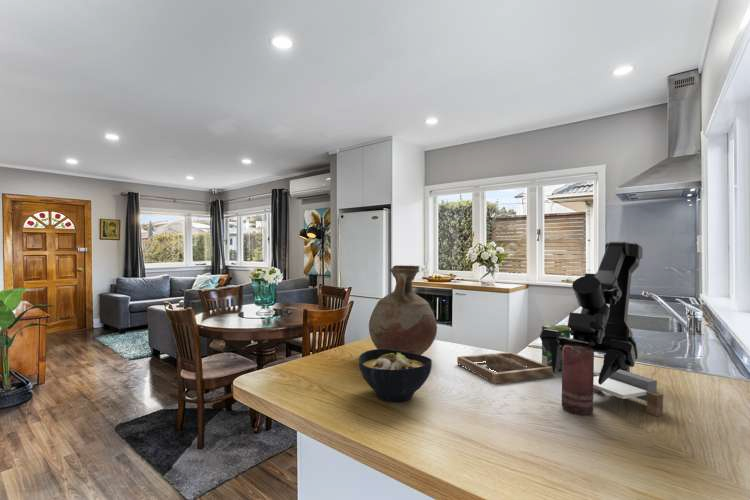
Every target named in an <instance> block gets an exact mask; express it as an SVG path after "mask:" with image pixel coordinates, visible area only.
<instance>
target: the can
mask: <svg viewBox="0 0 750 500" xmlns="http://www.w3.org/2000/svg"><path fill="white" fill-rule="evenodd" d="M594 363H595V352H593V350H592V348H591V347H588V346H584V345H578V344H566V345H564V347H563V350H562V370H561V407H562V408H563V410H564V411H566V412H568V413H570V414H573V415H578V416H589V415H591V414H592V413H593V412H594V392H593V381H594V372H595V365H594Z"/></svg>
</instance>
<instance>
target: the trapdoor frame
mask: <svg viewBox="0 0 750 500" xmlns="http://www.w3.org/2000/svg"><path fill="white" fill-rule="evenodd" d="M599 373H600V372H597V371H594V377H595V376H599V375H600V374H599ZM593 393H595V394H598V393H603V391H600V390H598V389H595V388H593ZM646 413H647V414H650V415H652V416H655V417H660V416H663V414H664V394H662V393H659V392H657V393H656V392H647V401H646Z"/></svg>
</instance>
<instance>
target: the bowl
mask: <svg viewBox="0 0 750 500" xmlns="http://www.w3.org/2000/svg"><path fill="white" fill-rule="evenodd" d="M432 363H433V360H432V359H431V358H430V357H427V356H426V355H423V354H422V355H418V354H412V353H407V352H401V351H396V350H389V349H377V348H376V349H370V350H367V351H363V352H362V353H361V354H360V355H359V357H358V366H359V367H358V368H359V370H360V372H361V376H362V378H363V379H364V380H365V382H366V383H367V385H368V386H369V387H370V388H371V389H372V390H373V391H374V393H375V395H376V397H377V398H378V399H379V400H382V401H384V402H390V403H402V402H407V401H409V400H411V399H412V398H413V396H414V394H415V393H416V392H417V391H419V389H420V388H421V387H422V386H423V385H424V384H425V383H426V382H427V379H428V378H429V376H430V374H431V372H432V371H431V370H432V367H433V366H432V365H433V364H432Z"/></svg>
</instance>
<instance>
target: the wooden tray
mask: <svg viewBox="0 0 750 500" xmlns="http://www.w3.org/2000/svg"><path fill="white" fill-rule="evenodd" d="M489 354H490V353H483V354H475V355H474V354H473V355H463V356H457V358H456V359H457V362H456V363H458V364H460V365H462V366H464V367H466V368H467V369H470V370H471V371H473V372H475V373H477V374H479V375H481V376H483V377H485V378H487V379H488V381H489V380H490V382H491V381H492V382H491V383H493V382H494V383H493V384H495V383H496V384H502V383H503V382H504V383H511V382H510V381H512V382H517V381H516V380H519V381H525V380H524V379H527V380H532V379H531V378H535V379H541V378H540V377H543V378H548V377H550V376H551V377H554V376H555V374H554V373H553V370H552V367H551V366H548V365H545V364H543V363H542V362H540V361H537V360H534V359H531V358H528V357H525V356H523V355H520V354H517V353H514V352H512V351H507V352H494V353H492V354H494V355H501V356H505V357H506V358H511V359H513V360H515V361H516V362H518V363H520V364H522V365H524V366H527V368H528V367H529V368H528V369H523V370H514V371H506V372H497V373H496V372H494V371H491V370H489V369H488V367H485V366H482V365H481V364H476V363H474V362H483V361H486V360H485V356H487V355H489ZM530 368H531V369H530ZM467 369H466V370H467ZM471 371H470V372H471ZM473 372H472V373H473ZM475 373H474V374H475ZM477 374H476V375H477ZM479 375H478V376H479ZM481 376H480V377H481ZM483 377H482V378H483ZM485 378H484V379H485ZM487 379H486V380H487Z"/></svg>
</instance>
